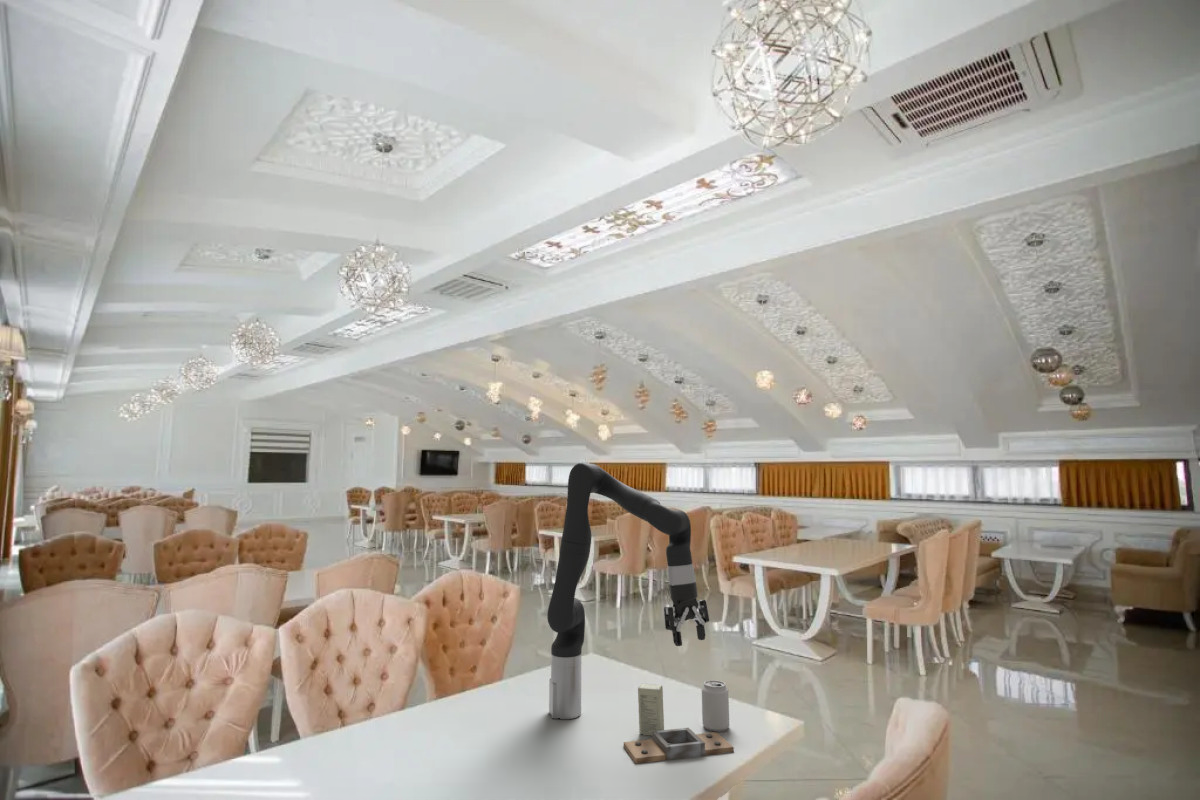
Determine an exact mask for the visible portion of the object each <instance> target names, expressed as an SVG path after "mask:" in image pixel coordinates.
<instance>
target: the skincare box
mask: <svg viewBox="0 0 1200 800" xmlns="http://www.w3.org/2000/svg"><path fill="white" fill-rule="evenodd" d="M663 693H664V691H663V684H652V683H651V684H650V683H641V684H640V685H639V686H638V687H637V699H638V701H637V703H638V726H639V727H638V729H639V731H638V732H639V735H641V734H643V735H644V736H650V735H651V736H650V737H652V731H661V730H665V719H664V717H665V715H664V695H663ZM643 735H642V736H643Z"/></svg>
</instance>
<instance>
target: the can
mask: <svg viewBox="0 0 1200 800" xmlns="http://www.w3.org/2000/svg"><path fill="white" fill-rule="evenodd" d="M726 685H727V683H725V682H724V681H722V680H716V679H710V680H709V679H708V680H705V681H704V682H703V686H702V687H701V712H702V713H701V714H702V715H701V716H702V722H701V723H702V725H703V727H704V728H705V729H706V730H708V731H711V732H717V733H718V732H719V733H720V732H724V731H726V730H727V729H728V728H729V727H730V705H729V703H730V702H729V700H730V699H729V689H728V687H727V686H726Z"/></svg>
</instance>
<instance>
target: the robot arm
mask: <svg viewBox="0 0 1200 800" xmlns="http://www.w3.org/2000/svg"><path fill="white" fill-rule="evenodd" d="M593 493H594V494H597V495H599V496H603V497H606V498H608V499H610V500H612V501H614V502H615V503H617V504H618V505H619V506H620V507H621V508H622V509H623V510H625V511H626V512H628V513H630V514H631V515H633V516H635V517H637V518H639V519H641V520H642V521H644V522H647V523H648V524H650V525H651V526H652V527H654V528H655V529H656V530H658V531H659V532H661V533H662V534H665V535H668V539H669V540H668V541H669V542H668V545H667V547H666V549H665V555H666V562H667V577H668V584H669V594H670V595H669V596H670V600H671V601H672V606H664V608H663V613H664V614H663V615H664V625H665V627H664V628H665V630H666V631H671V632H672V633H671V634H672V640H673V644H674V645H675V646H676V647H682V646H683V640H682V633H681V627H682V625H684V622H685V621H688V620H692V621H694V623H695V624H696V626H695V627H696V634H697V635H696V636H697V640H699V641H704V640H705V639H706V631H705V629H706V628H705V624H706V623H709V621H710V616H709V611H708V606H707V605H708V604H707V600H706V599H698V597H699V596H698V595H699V594H698V588H697V587H698V586H697V580H696V573H695V570H694V564H693V558H692V557H693V556H692V552H691V551H692V550H691V539H692V538H691V537H692V536H691V535H692V529H691V528H692V526H691V522H690V521H691V520H690V518H689V516H688V514H687V513H686V512H685V511H683V510H681V509H670V508H668V507H666V506H664V505H662V504H661V503H660V502H659V500H657V499H655V498H654V497H652V496H650V495H648V494H646V493H644V492H641V491H640V490H638V489H635V488H633V487H631V486H629V485H627V484H625V483H624V482H622V481H620V480H618V479H617V478H615V477H614V476H613V475H611V474H610V473H609V472H607V471H606V470H604V469H603V468H602V467H600V466H599V465H597V464H594V463H588V462H579V463H577V464H575V465H574V466H573V467H572V468H571V470H570V472H569V474H568V481H567V494H566V495H567V497H566V498H567V500H566V509H565V515H564V522H563V531H562V534H561V535H562V536H561V540H560V547H559V555H558V561H557V568H556V574H555V579H554V585H553V589H552V593H551V597H550V601H549V603H548V604H549V605H548V609H547V613H546V614H547V615H546V616H547V623H548V626H549V627H550V628H551V630H552V631H553V632H554V633H557V635H556V637H555V639H554V641H553V642H552V643H551V647H550V648H551V650H550V651H551V655H550V656H551V657H550V660H551V661H550V664H551V665H550V678H549V685H548V686H549V689H548V691H549V693H548V694H549V697H548V701H549V702H548V712H550V713H549V714H551V715H550V716H551V719H553V718H554V719H558V718H560V719H559V720H571V719H572V720H573V719H575V718H578V716H579V717H580V716H581V715H582V652H583V651H582V649H583V645H584V642H585V627H586V612H585V611H586V610H585V608H584V606H583V603H582V602H581V601H580V599H578V598H576V590H577V588H578V587H577V586H578V584H579V581H580V580H581V577H582V574H583V573H584V571H585V569H586V566H587V564H588V561H589V558H590V552H591V545H592V530H591V529H592V528H591V524H590V519H589V502H590V498H591V494H593ZM697 599H698V600H697Z"/></svg>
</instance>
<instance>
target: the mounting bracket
mask: <svg viewBox="0 0 1200 800" xmlns="http://www.w3.org/2000/svg"><path fill="white" fill-rule="evenodd" d="M679 742H680V743H679ZM668 743H671V744H668ZM623 749H626V750H625V751H626V753H627V752H628V753H627V754H628V756H629V757H630V758H631V759H632V761H633V762H634V763H635V764H643V763H651V762H660V761H661V760H662V761H672V759H673V760H680V759H688V758H689V759H690V758H697V757H698V758H699V757H705V756H711V755H710V754H712V755H718V754H719V753H721V754H726V753H725V752H729V753H734V749H735V748H734V746H733V745H732V744H731V743H730V742H728V741H727V740H726V739H725V738H724V737H723V736H721V735H720V734H719V733H718V732H715V731H711V732H704V733H695V732H694V731H693V730H692V729H690V727H681V728H673V729H671V728H670V729H664V730H661V731H652V736H651V739H650V738H649V739H639V740H632V741H623ZM719 755H720V754H719Z"/></svg>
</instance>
